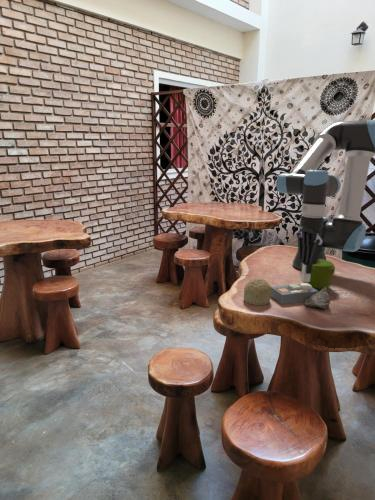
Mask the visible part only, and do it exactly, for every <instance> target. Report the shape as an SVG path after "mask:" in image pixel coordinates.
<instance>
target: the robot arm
mask: <svg viewBox="0 0 375 500" xmlns="http://www.w3.org/2000/svg"><path fill="white" fill-rule="evenodd" d="M338 150H340V151H341V150H344V154H345V155H346V157H347V162H346V167H345V172H344V177H343V184H341V180H340V179H339V178H338V177H337V176H335V175H332V174H330V173H329V171H328V170H324V169H321V170H320V169H318V168H319V167H320V165H322V163H323V162H324V160H325V159H326V158H327V156H328V155H331V154H333V152H334V151H338ZM374 156H375V119H363V120H362V119H361V120H342V121H337V122H334V123H333V124H331V125H329V126H327V127H325V128H324V129H323V130H321V131H320V132H319V133H318V134H317V135H316V136H315V138H314V139H313V143H312V145H311V146H310V147H309V149H308V150H307V151H306V152H305V154H304V155H303V156H302V157H301V159H299V161H298V162H297V163H296V164H295V165H294V167H293V168H292V169H291V170H290V171H289V172H288V173H286V172H285V173H280V174H279V175H278V176H277V178H276V180H275V181H276V182H275V183H276V184H275V185H276V190H277V191H278V192H279V194H287V195H299V196H300V195H301V196H302V200H301V201H302V202H301V203H302V204H301V212H300V213H301V216H300V220H299V228H298V229H299V231H298V232H297V233H296V237H297V251H296V253H295V256H294V258H293V260H292V267H293V268H294V267H295V268H294V269H296V268H297V270H299V271H301V277H300V281H301V283H303V282H310V276H311V271H312V265H313V264H317V261H318V259H323V260H327V256H326V252H325V251H326V248H328V249H331V250H337V251H343V252H351V253H354V252H357V251H358V250H359V249H360V248H361V246H362V245H363V243H364V240H365V237H366V234H367V233H366V232H367V227H366V225H364V224H363V223H364V221H363V219H362V218H361V210H362V206H363V200H364V195H365V190H366V185H367V180H368V175H369V168H370V163H371V159H372V158H374ZM341 185H342V186H341ZM341 187H342V188H341ZM341 189H342V190H341ZM340 190H341V194H340V200H339V207H338V211H337V213H336V215H334V216H333V218H332V221H330V219H329V217H326V216H325V210H326V202H327V198H330V197H333V196H336V195H337V194H338V193H339V192H340ZM301 263H302V270H301Z"/></svg>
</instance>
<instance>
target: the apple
mask: <svg viewBox="0 0 375 500" xmlns="http://www.w3.org/2000/svg"><path fill="white" fill-rule="evenodd" d="M335 270H336V266H335V264H334V263H333V262H332V261H330V260H327V259H326V260H323V259H318V261H317V264H313V265H312V271H311V276H310V282H302V283H308V284H309V285H311V286H312V288H314V289H316V290H322V289H323V288H324V287H326V288H327V289H328V288H329V287H330V286H331V283H332V280H333V277H334V276H335V275H334V274H335ZM300 271H302V263H301V270H300Z"/></svg>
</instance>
